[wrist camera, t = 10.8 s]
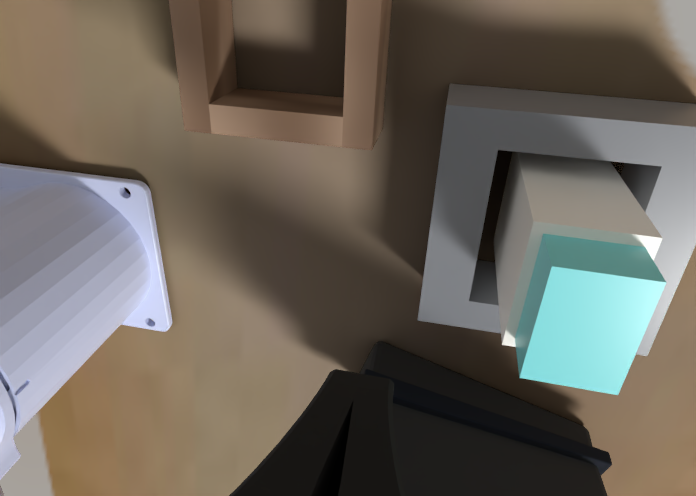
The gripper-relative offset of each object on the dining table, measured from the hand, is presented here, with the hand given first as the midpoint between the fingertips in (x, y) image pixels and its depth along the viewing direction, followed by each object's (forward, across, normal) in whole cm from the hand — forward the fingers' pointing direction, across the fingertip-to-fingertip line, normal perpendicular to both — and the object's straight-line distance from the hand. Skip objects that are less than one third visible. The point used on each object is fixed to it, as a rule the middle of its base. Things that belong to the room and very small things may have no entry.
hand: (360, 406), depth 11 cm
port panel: (+10, -5, -1) cm, 12 cm away
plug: (+10, -5, -1) cm, 12 cm away
